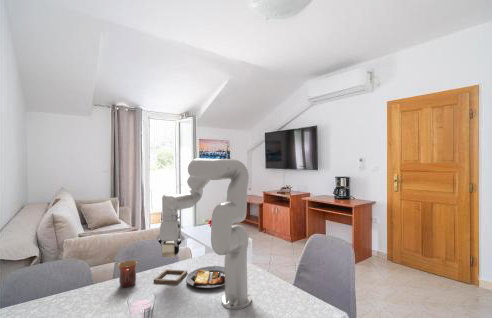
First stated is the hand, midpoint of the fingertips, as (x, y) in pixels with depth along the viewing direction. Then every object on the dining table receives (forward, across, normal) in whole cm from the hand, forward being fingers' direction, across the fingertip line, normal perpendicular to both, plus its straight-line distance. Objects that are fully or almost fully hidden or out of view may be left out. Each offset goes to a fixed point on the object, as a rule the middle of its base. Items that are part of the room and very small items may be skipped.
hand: (170, 252), depth 132 cm
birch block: (+1, 0, 0) cm, 1 cm away
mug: (+13, +17, +11) cm, 24 cm away
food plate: (+13, -21, -1) cm, 25 cm away
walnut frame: (+13, 0, 0) cm, 13 cm away
